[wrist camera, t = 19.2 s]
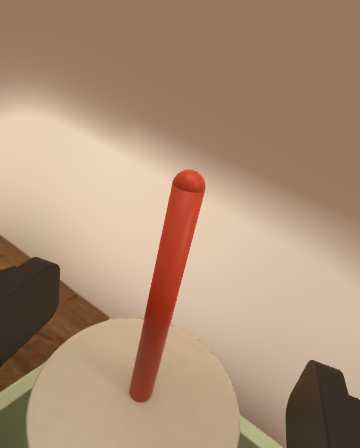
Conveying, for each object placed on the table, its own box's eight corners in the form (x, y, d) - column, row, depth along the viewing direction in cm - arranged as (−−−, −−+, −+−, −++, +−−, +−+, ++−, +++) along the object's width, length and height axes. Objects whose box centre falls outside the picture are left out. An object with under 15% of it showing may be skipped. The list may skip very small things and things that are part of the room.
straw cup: (188, 493, 16) (323, 179, 8) (141, 708, 10) (423, 322, 3) (83, 442, 17) (123, 125, 9) (-11, 611, 11) (-89, 152, 4)
